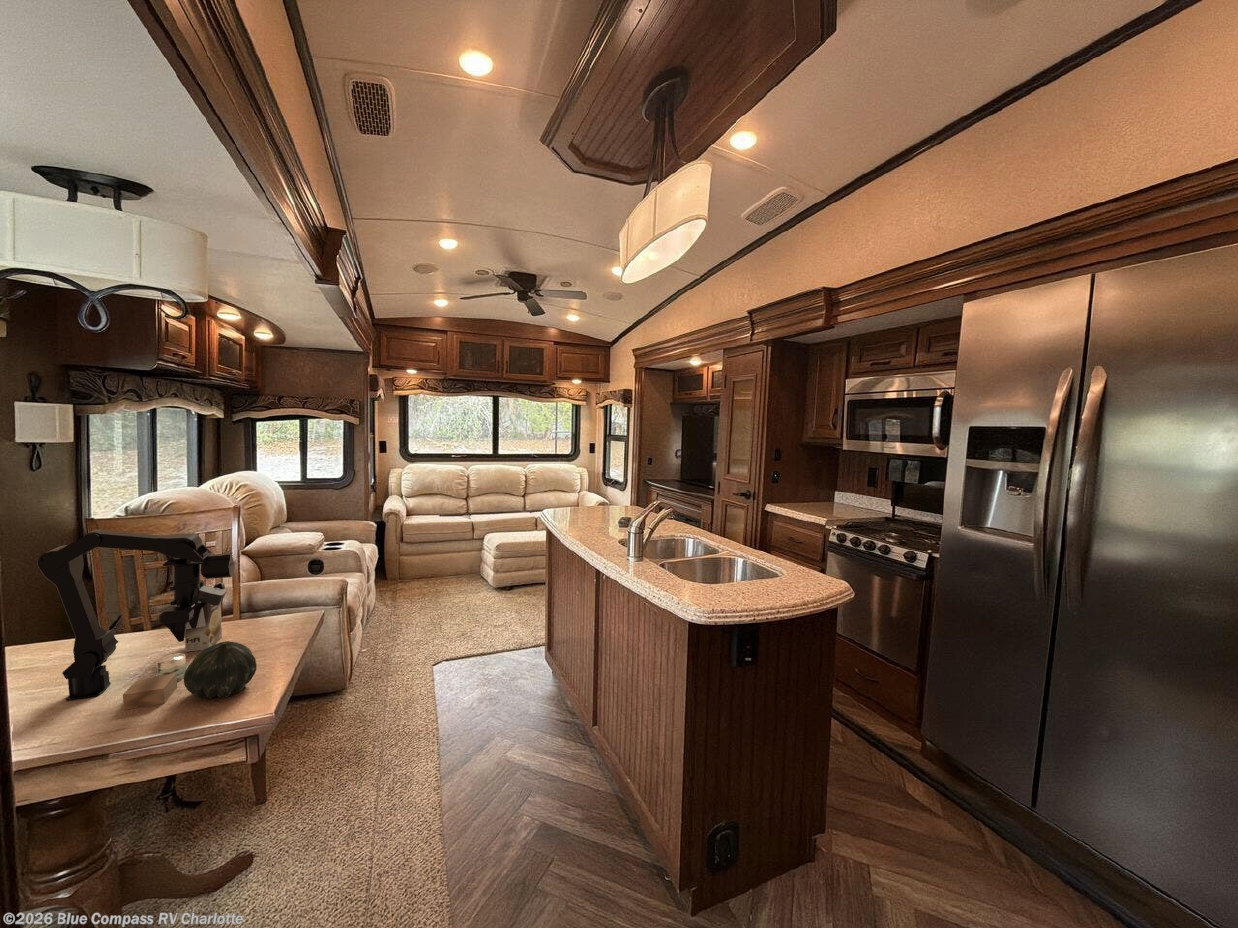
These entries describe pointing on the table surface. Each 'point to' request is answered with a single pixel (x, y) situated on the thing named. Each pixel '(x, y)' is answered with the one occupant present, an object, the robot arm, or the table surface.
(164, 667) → the tin
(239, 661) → the squash
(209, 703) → the table surface
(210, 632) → the coffee box
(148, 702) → the block
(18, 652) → the table surface
